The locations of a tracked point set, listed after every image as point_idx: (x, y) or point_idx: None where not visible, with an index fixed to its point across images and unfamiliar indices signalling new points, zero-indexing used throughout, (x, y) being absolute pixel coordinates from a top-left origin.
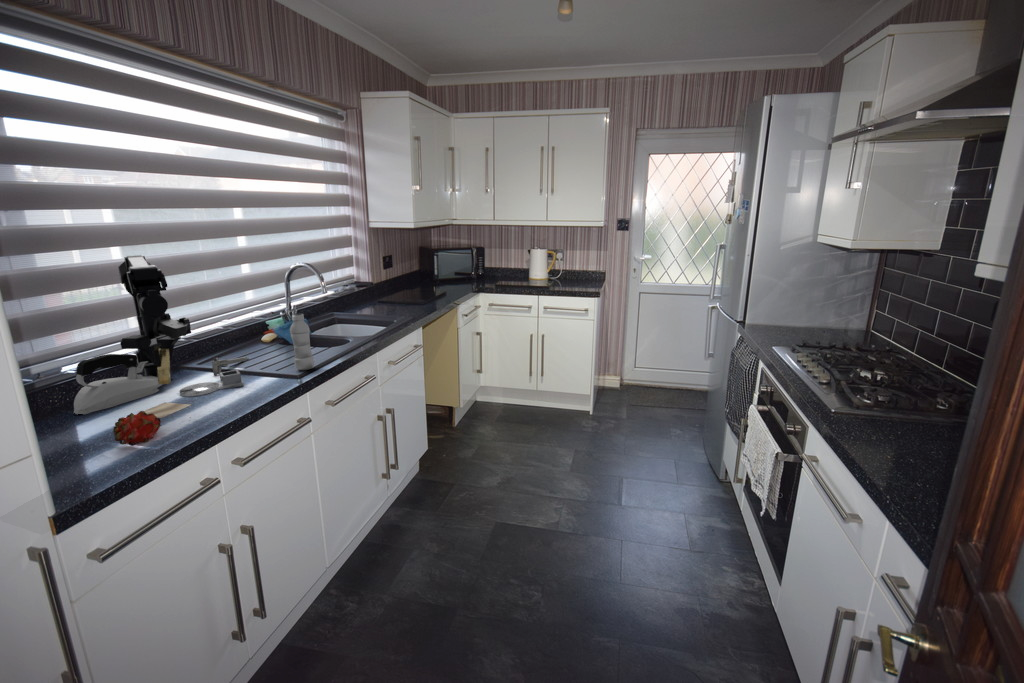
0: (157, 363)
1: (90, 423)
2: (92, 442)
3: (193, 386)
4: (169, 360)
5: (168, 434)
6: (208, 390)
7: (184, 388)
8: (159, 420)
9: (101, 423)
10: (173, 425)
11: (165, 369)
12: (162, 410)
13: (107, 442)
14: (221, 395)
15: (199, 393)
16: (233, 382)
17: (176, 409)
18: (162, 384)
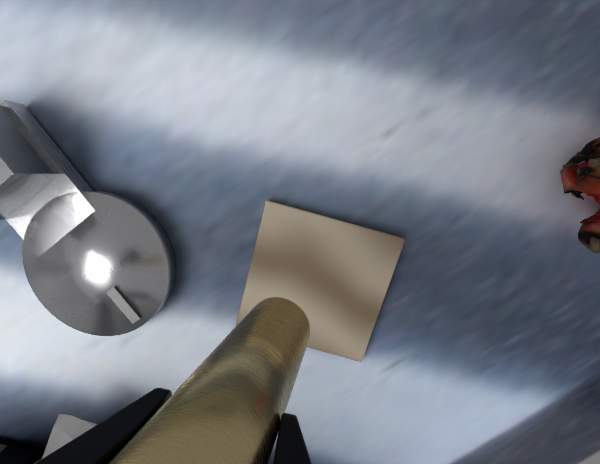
0: (304, 461)
1: (398, 459)
2: (579, 354)
3: (78, 304)
4: (181, 397)
5: (569, 113)
6: (122, 208)
7: (104, 327)
8: (588, 150)
9: (403, 426)
10: (470, 153)
11: (272, 359)
12: (322, 283)
13: (593, 304)
14: (141, 145)
15: (154, 232)
16: (23, 135)
17: (317, 232)
18: (92, 423)
